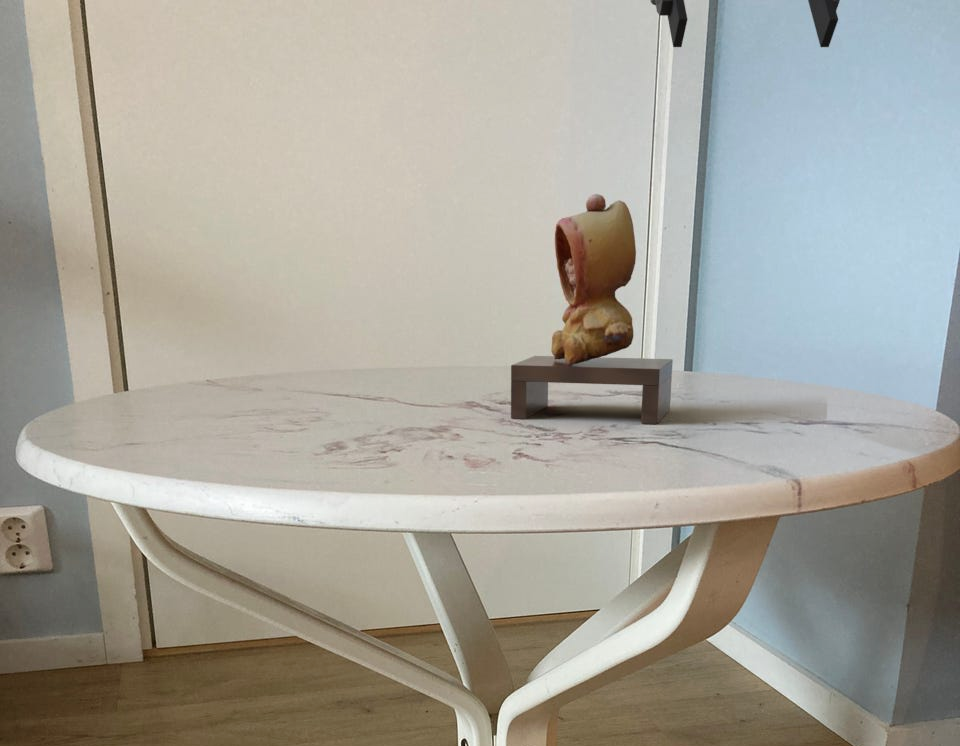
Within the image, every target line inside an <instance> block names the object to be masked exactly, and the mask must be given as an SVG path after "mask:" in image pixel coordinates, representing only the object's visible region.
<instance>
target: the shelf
mask: <svg viewBox="0 0 960 746" xmlns="http://www.w3.org/2000/svg"><path fill="white" fill-rule="evenodd" d="M554 357H555V356H554V355H533V356H531V357H528V358H526V359H523V360H521V361H518V362H516V363H514V364H511V365H510V419H514V420H515V419H516V420H527V419H529V418H530V417H532V416H533V415H535V414H537V413H539V412H540V411H542V410H543V409H545V408H547V407H548V406H549V383H551V384H552V383H553V384H555V383H557V384H589V385H617V386H618V385H619V386H620V385H621V386H623V385H624V386H642V393H641V416H640V423H641V424H643V425H657V424H659V423H660V421H661V420H663V418H664V417H665V416H666V415H667V414H668V413H669V412H670V411H671V399H672V381H673V380H672V379H673V378H672V377H673V376H672V375H673V362H674V361H673V358H639V357H604V356H602V357H599V358H595V359H591V360H588V361H584V362H581V363H578V364H574V365H568V366H567V365H565V358H564V359H556V360H555V359H554Z"/></svg>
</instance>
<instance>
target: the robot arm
mask: <svg viewBox="0 0 960 746" xmlns="http://www.w3.org/2000/svg"><path fill="white" fill-rule="evenodd" d="M807 1H808V5H809V9H810V12H811V17H812V20H813V24H814V28H815V32H816V36H817V39H818V43H819V46H820V48H830V44H831V41H832V39H833V36H834V33H835V30H836V28H837V24H838V22H839V16H838V13H837V10H838V7H839V3H840V1H841V0H807ZM650 3H651V4H652V5H654V6H655V9H656V12H657V14H658V16H662V17H663V16H667V20H668V21H667V22H668V26H669V27H668V28H669V32H670V38H671V43H672V47H673V48H682V47H683V41H684V37H685V32H686V28H687V22H688V14H687V9H686V4H685V0H650Z"/></svg>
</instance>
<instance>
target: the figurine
mask: <svg viewBox="0 0 960 746" xmlns="http://www.w3.org/2000/svg"><path fill="white" fill-rule="evenodd" d="M606 205H607V203H606V199H605V197H604V196H603V195H602V194H599V193H595V194H591V195H589V196H588V198H587V200H586V201H585V208H586V211H585V212H581V213H578V214H575V215H570V216H567V217H561V219H560V220H558V221H557V222H556V224H555V231H554V250H555V259H556V269H557V271H558V276H559V282H560V286H561V289H562V293H563V295H564V298H565V300H566V302H567V304H568V307H566V308H565V310H564V312H563V315H562V318H561V319H562V322H563V323H564V326H563V329H561V330H556V331H554V332H553V333H552V337H551V354H552V356H555V357H554V359H555V360H556V359H564V358H565V365H567V366H568V365H574V364H578V363H581V362H584V361H588V360H591V359H595V358H599V357H606V356H608V355H612V354H614V353H617V352H620V351H622V350H625V349H627V348H629V347H630V346H631V345H632V343H633V339H634V327H633V326H634V325H633V316H632V315H631V313H630V311H629V310H628V309H627V308H626V307H625V306H624V305H623V304H622V303H621V302H620V301H619V300H618V299H617V297H616V292H617V290H618V289H620V288H622V287H626V286H627V285H628V284H629V282H630V281H631V279H632V275H633V272H634V270H635V265H636V260H637V259H636V258H637V247H636V236H635V230H634V229H635V228H634V222H633V218H632V215H631V211H630V209H629V207H628V204H626V202H625V201H622V200H616V201H614V202H612V203H611V204H610V205H609V206H608V207H607V206H606Z"/></svg>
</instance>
